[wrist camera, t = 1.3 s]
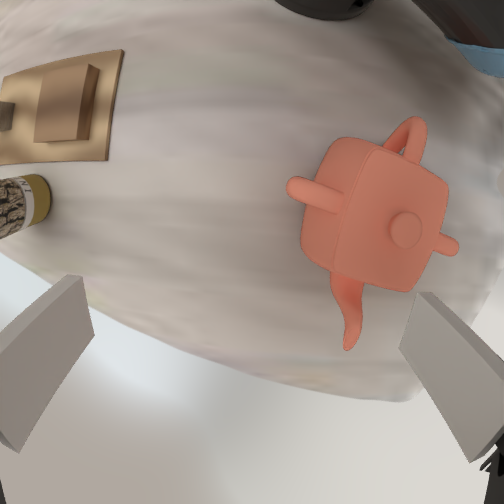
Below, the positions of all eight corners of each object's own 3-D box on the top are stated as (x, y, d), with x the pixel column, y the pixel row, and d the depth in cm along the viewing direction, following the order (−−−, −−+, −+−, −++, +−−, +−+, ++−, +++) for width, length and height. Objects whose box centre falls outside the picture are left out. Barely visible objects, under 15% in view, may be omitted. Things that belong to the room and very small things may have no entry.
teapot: (373, 118, 29) (439, 102, 16) (421, 229, 33) (486, 263, 21) (252, 184, 31) (257, 200, 19) (316, 294, 36) (349, 359, 23)
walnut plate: (56, 76, 25) (44, 72, 22) (99, 69, 25) (88, 63, 22) (46, 142, 27) (33, 142, 25) (88, 139, 28) (76, 139, 25)
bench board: (6, 77, 24) (3, 77, 23) (124, 51, 25) (121, 49, 25) (-5, 165, 28) (-8, 165, 27) (107, 160, 30) (104, 160, 29)
